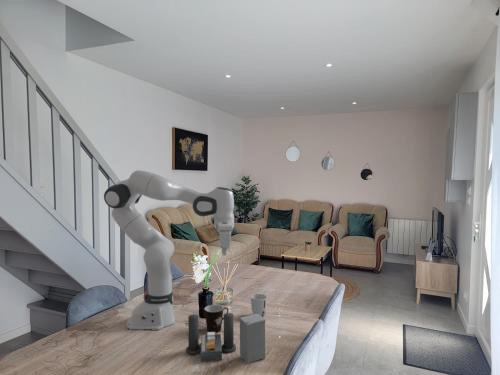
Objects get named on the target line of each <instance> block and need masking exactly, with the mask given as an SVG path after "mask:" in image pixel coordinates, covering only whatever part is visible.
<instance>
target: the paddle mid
mask: <svg viewBox="0 0 500 375" xmlns="http://www.w3.org/2000/svg"><path fill="white" fill-rule="evenodd" d="M211 341H214V343H215V336H214V337H207V342H211Z"/></svg>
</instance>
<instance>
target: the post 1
mask: <svg viewBox="0 0 500 375" xmlns="http://www.w3.org/2000/svg"><path fill="white" fill-rule="evenodd" d="M199 316H200V315H198V314H190V315H188V319H187V322H188V325H187V326H188V330H187V332H188V346H187V347H186V348H185V353H186V355H188V354H189V356H196V355H197V356H198V355H199V354H201V345H199V344H200V343H199V341H200V340H199V337H200V336H199V330H200V329H199V325H200V324H199V323H200V322H199V320H200V319H199Z"/></svg>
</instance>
